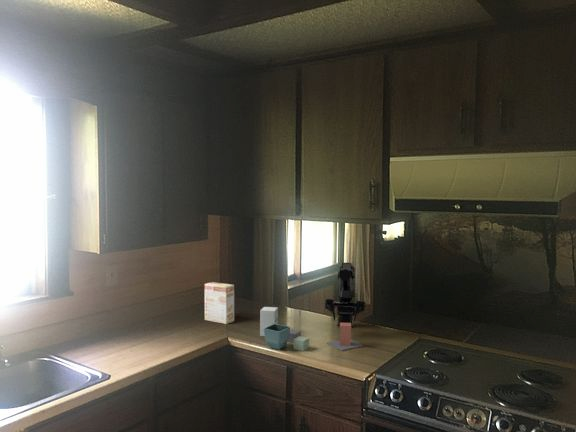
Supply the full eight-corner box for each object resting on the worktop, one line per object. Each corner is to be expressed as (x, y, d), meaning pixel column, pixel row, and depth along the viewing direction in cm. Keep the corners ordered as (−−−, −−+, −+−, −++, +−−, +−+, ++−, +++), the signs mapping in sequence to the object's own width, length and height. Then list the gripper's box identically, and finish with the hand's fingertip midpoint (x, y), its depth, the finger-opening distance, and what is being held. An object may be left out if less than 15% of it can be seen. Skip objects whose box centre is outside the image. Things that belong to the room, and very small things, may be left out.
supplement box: (274, 337, 235) (274, 311, 235) (259, 336, 237) (259, 310, 236) (278, 332, 243) (278, 307, 242) (263, 331, 244) (263, 306, 243)
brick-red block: (339, 341, 228) (339, 322, 227) (350, 342, 227) (351, 322, 226) (339, 345, 223) (339, 325, 222) (350, 346, 222) (351, 326, 221)
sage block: (298, 346, 223) (298, 336, 223) (308, 348, 221) (308, 338, 221) (293, 349, 219) (293, 339, 219) (303, 351, 217) (303, 341, 216)
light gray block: (291, 339, 234) (291, 329, 233) (300, 340, 231) (300, 331, 231) (285, 341, 229) (285, 332, 229) (295, 343, 227) (295, 334, 226)
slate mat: (348, 339, 233) (348, 338, 233) (363, 346, 223) (363, 345, 223) (327, 343, 226) (327, 342, 226) (342, 350, 217) (342, 349, 217)
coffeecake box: (234, 321, 262) (234, 284, 261) (226, 324, 256) (225, 287, 255) (213, 317, 270) (212, 281, 269) (204, 320, 264) (203, 283, 263)
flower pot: (280, 352, 215) (280, 331, 215) (263, 348, 220) (263, 328, 219) (290, 346, 223) (290, 326, 222) (274, 342, 227) (274, 323, 227)
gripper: (326, 282, 237) (324, 311, 227) (365, 284, 235) (365, 313, 225) (326, 294, 246) (324, 322, 236) (364, 296, 244) (364, 325, 234)
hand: (344, 320), depth 232 cm, fingers open, 9 cm apart
